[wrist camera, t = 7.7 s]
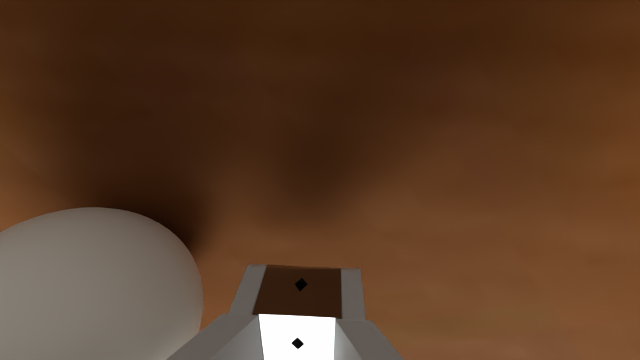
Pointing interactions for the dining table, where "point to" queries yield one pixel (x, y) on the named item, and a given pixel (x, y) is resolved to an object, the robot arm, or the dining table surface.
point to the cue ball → (96, 288)
